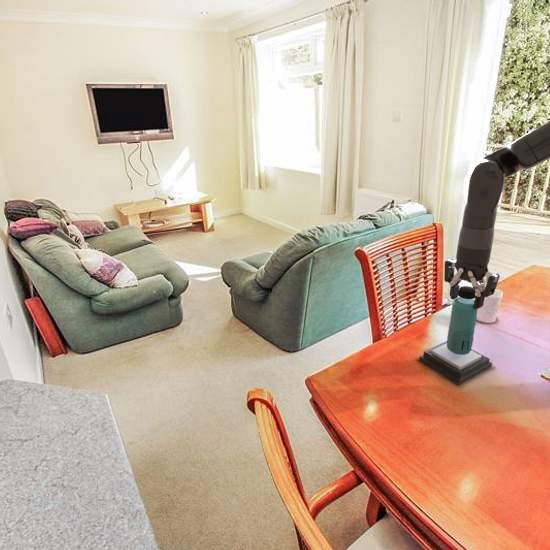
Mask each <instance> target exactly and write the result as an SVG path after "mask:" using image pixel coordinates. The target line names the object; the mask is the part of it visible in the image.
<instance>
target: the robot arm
mask: <svg viewBox="0 0 550 550" xmlns="http://www.w3.org/2000/svg"><path fill="white" fill-rule="evenodd" d="M548 160H550V120H549V121H547V122H545V123H544V124H541V125H540V126H538V127H536V128H534V129H533V130H531V131H529V132H528V133H526V134H524V135H522V136H521V137H519V138H518V139H516V140H514V141H513V142H512V143H510V144H508V145H506V146H503V147H501V148H499V149H497V150H495V151H492V152H491V153H489V154H487V155H485V156H484V157H481V158H480V159H478V160H476V161H475V162H474V163H473V164H472V165H471V167H470V168H469V172H468V188H467V189H468V191H467V198H466V203H465V206H464V209H463V215H462V221H461V222H462V223H461V227H460V230H459V234H458V239H457V240H458V242H457V248H456V254H455V259H456V260H455V259H454V258H451V259H448V260H445V261H444V270H443V272H444V273H443V274H444V275H443V276H444V277H443V278H444V280H443V281H444V282H445V283H448V284H449V287H450V288H449V298H450V299H451V300H452V301H454V300H455V299H457V298H459V296H458V292H459V288H460V287H461V285H460V283H461V282H462V281H466V282H468V283H470V284H471V287H472V288H474V289H475V292H476V296H475V298H474V307H473V308H474V309H479V308H480V307H482V306H483V304H484V299H485V297H488V296H491V295H493V294H494V292H495V289H497V286H498V283H499V281H500V277H501V275H500V273H492V272H490V271H489V267H488V265H489V263H490V259H491V254H492V249H493V243H494V239H495V225H496V220H497V215H498V205H499V202H500V200H501V196H502V193H503V190H504V186H505V180H506V179H507V178H508V177H510V176H512V175H514V174H516V173H518V172H521V171H527V170H530V169H533V168H534V167H536V166H538V165H540V164H542V163H544V162H546V161H548ZM455 270H456V273H455ZM485 278H486V279H485Z"/></svg>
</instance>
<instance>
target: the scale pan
mask: <svg viewBox="0 0 550 550" xmlns="http://www.w3.org/2000/svg"><path fill="white" fill-rule="evenodd" d="M472 350H473V349H472ZM472 350H471V351H470V353H468V354H466V355H459V354H455V353H453V352H451V351H449V350H448V348H447V343H446V344H444V345H442V346H440V347H438V348H436V349H433V350H432V352H431V353H432V354H434V355H435V356H437V357H439V358H441V359H442V360H444V361H446V362H447V363H449V364H451V365H452V366H454V367H456V368H457V369H459V370H461V369H463V368H465V367H467V366H469V365H471V364H473V363H475V362H476V361H478V360H480V359H481V358H482V355H483V354H482V355H480V354H481V353H480V354H478V353H479V352H478V353H476V352H477V351H476V352H474V351H475V350H474V351H472Z"/></svg>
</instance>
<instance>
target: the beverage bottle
mask: <svg viewBox="0 0 550 550" xmlns="http://www.w3.org/2000/svg"><path fill="white" fill-rule="evenodd" d="M475 296H476V292H475V289H474V288H473V287H472V286H468V285H464V286H463V285H462V286H460V287H459V292H458V298H456V299H454V300H452V304H451V305H452V306H451V312H450V321H449V324H448V331H447V337H446V341H447V348H448V350H449V351H451V352H453V353H455V354H459V355H466V354H468V353H470V351H471V349H472V348H473V345H474V337H475V335H474V334H475V330H476V329H475V328H476V326H477V318H476V317H477V310H478V309H474V308H473V307H474V301H475Z"/></svg>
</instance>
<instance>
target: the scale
mask: <svg viewBox="0 0 550 550" xmlns="http://www.w3.org/2000/svg"><path fill="white" fill-rule="evenodd" d="M446 343H447V340H446V341H444V342H441V343H438V344H437V345H436V346H435V345H434V346H433V347H431V348H429V349H427V350H426V349H425V350H424V351H423V354H422V355H420V356H419V359H418V361H420V362H421V363H423V364H424V365H426V366H427V367H429V368H431V369H432V370H434V371H436V372H437V373H439V374H440V375H442V376H443V377H445V378H447V379H448V380H450V381H451V382H453V383H454V384H456V385H458V386H460V385H461V384H463V383H465V382H467V381H469V380H472V379H473V378H474V377H476V376H479V375H480V374H482V373H484V372H485V371H488V370H489V369H491V368H492V367H493V362H491V361H490V360H491V359H490V358H489V357H487V356H486V355H483V354H481V352H480V353H479V352H478V351H476V350H474V349H473V348H471V350H472V351H474V352H476V353H478V354H480V355H482V358H481V359H480V360H478V361H476V362H475V363H473V364H471V365H469V366H467V367H465V368H463V369H461V370H459V369H457V368H456V367H454V366H452V365H451V364H449V363H447V362H446V361H444V360H442V359H441V358H439V357H437V356H435V355H434V354H432V353H431V352H432V350H433V349H436V348H438V347H440V346H442V345H444V344H446Z"/></svg>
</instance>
